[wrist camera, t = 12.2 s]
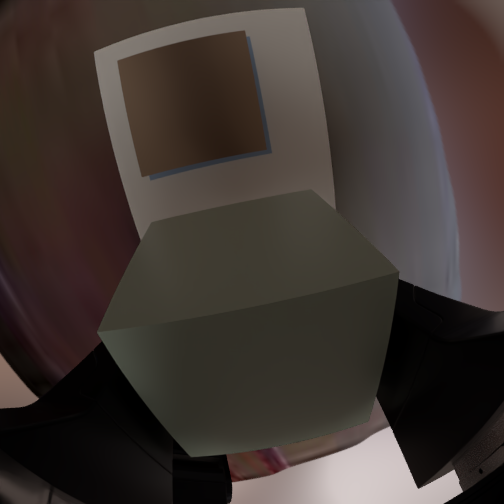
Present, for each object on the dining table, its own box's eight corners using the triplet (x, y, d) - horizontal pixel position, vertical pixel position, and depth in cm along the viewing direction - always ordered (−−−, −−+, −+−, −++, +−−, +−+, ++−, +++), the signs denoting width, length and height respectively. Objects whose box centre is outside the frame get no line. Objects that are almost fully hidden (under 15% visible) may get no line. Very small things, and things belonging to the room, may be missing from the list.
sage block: (194, 340, 11) (190, 457, 6) (151, 221, 9) (96, 332, 4) (320, 315, 11) (368, 421, 7) (311, 189, 9) (399, 271, 4)
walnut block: (160, 161, 17) (141, 177, 13) (142, 74, 15) (117, 60, 10) (253, 141, 17) (266, 149, 13) (237, 52, 15) (244, 30, 10)
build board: (193, 360, 26) (192, 367, 25) (98, 53, 14) (92, 51, 13) (336, 329, 27) (340, 335, 26) (300, 11, 14) (304, 6, 13)
